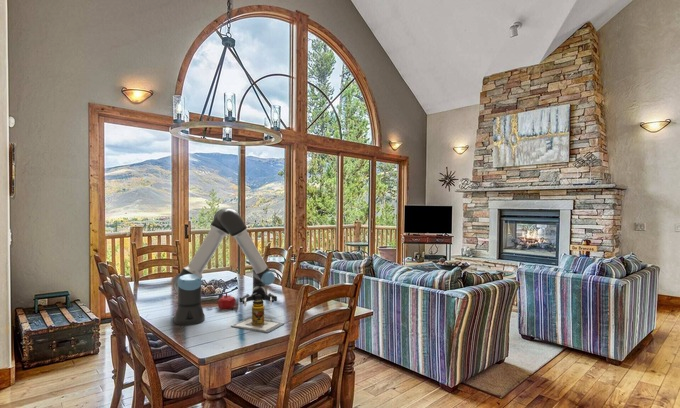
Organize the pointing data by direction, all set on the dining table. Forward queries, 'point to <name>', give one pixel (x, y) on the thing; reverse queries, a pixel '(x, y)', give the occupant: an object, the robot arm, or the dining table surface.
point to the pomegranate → (226, 302)
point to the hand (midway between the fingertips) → (258, 303)
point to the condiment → (257, 313)
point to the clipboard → (264, 328)
